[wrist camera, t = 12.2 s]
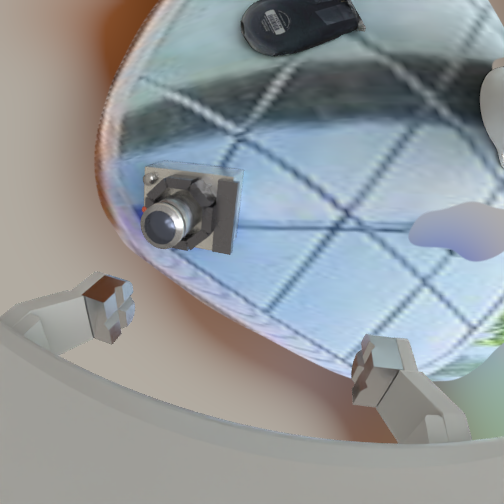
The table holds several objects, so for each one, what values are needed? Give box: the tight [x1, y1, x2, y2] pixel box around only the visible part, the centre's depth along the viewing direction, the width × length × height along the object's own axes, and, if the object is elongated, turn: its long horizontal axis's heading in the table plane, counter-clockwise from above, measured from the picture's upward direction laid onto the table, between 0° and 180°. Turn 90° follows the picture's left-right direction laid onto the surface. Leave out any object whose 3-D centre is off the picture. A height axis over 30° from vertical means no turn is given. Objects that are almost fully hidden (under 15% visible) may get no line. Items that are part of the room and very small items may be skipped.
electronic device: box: [241, 0, 366, 56], centre depth 30 cm, size 9×6×15 cm
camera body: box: [142, 161, 244, 255], centre depth 40 cm, size 13×10×9 cm
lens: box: [141, 190, 203, 249], centre depth 35 cm, size 5×5×7 cm
